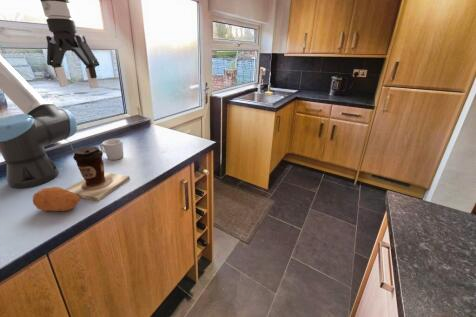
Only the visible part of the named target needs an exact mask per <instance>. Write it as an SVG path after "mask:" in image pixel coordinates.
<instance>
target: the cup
mask: <svg viewBox="0 0 476 317" xmlns="http://www.w3.org/2000/svg"><path fill="white" fill-rule="evenodd" d="M99 149H100V150H101V151H102V152H103V154H104V153H105V155H106V157H107V159H108V160H110V161H117V160H120V159H122V158H123V157H124V145H123V139H121V138H110V139H107V140H104V141H103V142H102V143H100V145H99Z"/></svg>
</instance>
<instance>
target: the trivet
mask: <svg viewBox="0 0 476 317" xmlns="http://www.w3.org/2000/svg"><path fill="white" fill-rule="evenodd" d="M104 177H105V179H106V182H105V183H104V184H102V185H99V186H94V187H89V186H87V185H86V181H85V179H84V178H82V179H81V180H79V181H77V182H75V183H74V184H72V185H71V186H68V187H67V188H65V190H67V191H70V192H73V193H75V194H77V195H78V196H79V198H82V199H87V200H93V201H97V202H99V201H101V200H102V199H104V198H105V197H107V196H108V195H110V194H111V193H112V192H114V191H115V190H116V189H118V188H119V187H121V186H122V185H123V184H125V183H126V182H128V181H129V180H131V178H130V177H131V176H129V175H124V174H119V173H111V172H107V171H106V172H105V171H104Z"/></svg>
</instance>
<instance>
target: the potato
mask: <svg viewBox="0 0 476 317" xmlns="http://www.w3.org/2000/svg"><path fill="white" fill-rule="evenodd" d="M65 189H66V188H65ZM65 189H64V188H62V187H60V186H59V187H58V186H50V187H44V188H41V189H40V190H38V191H37V192H35V193H34V194H33V197H32V203H33V205H34V206H35V208H36V209H37V210H41V211H45V212H65V211H70V210H72V209H74V208H76V207H77V205H78V204H79V202H80V200H81V199H80V198H81V197H79V196H78V195H77V194H75V193H73V192H70V191H67V190H65Z"/></svg>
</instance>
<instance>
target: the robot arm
mask: <svg viewBox="0 0 476 317" xmlns="http://www.w3.org/2000/svg"><path fill="white" fill-rule="evenodd" d="M39 1H40V2H41V5H42V9H43V14H44V16H45V17H46V20H45V21H46V24H47V27H48V31H49V32H51V33H52V34H53V35H46V36H45V38H46V42H47V48H46V49H47V50H46V52H47V55H46V64H47V65H48V66H51V67H52V68H53V70H54V73H55V75H56V78H57V80H58V84H59V86H60V88H64V87H69V82H68V79H67V76H66V71H65V69H64V67H63V65H62V64H63V61H64V57H65V55H66V53H67V52H72V53H74V54H75V55H76V56H77V57H78V59H79V60H80V61H81V62H82V63H83V65H84V66H85V74H86V76H87V81H88V84H89V88H90V89H92V90H93V89H97V88H99V85H98V81H97V78H98V76H97V72H96V67H99V66H100V62H99V61H98V59H97V58H96V56H95V54H94V52H93V51H92V50H91V48H90V46H89V45H88V43H87V39H86V37H85V36H84V35H78V34H77V35H76V33H78V30H77V27H76V22H75V20H73V19H74V14H73V10H72V7H71V4H70V0H39ZM2 48H3V47H2V43H1V42H0V91H1V92H2V93H3V94H4V95H5V96H6V97H7V98H9V100H10V101H11V102H12V103H13V104H15V106H17V108H18V109H19V110H21V111H22V112H23V114H17V115H13V116H12V115H11V116H7V117H4V118H0V153H1V155H2V157H3V160H4V162H5V165H6V181H7V184H8V186H9V187H11V188H13V189H26V188H31V187H32V188H33V187H36V186H41V185H42V184H45V183H47V182H50V181H52V180H53V179H55V178H56V177H57V176H59V173H60V171H59V169H58V166H57V165H56V164H55V163H54V162H53V161H52V160H51V159H50V157H49V156H48V154H47V152H46V149H45V147H47V146H50V145H52V144H55V143H59V142H61V141H64V140H67V139H69V138H71V137H73V136H74V135H75V134H76V133H77V130H78V125H77V124H78V123H77V119H76V118H75V116H74V115H73V113H72V112H70V111H69V110H67V109H65V108H60V109H59V108H58V107H57V105H55V104H54V103H53V102H47V101H46V100H45V99H44V98H43V97H42V96H41V95H40V94H39V92H37V91H36V90H35V89H34V87H33V86H31V84H29V82H27V81H26V79H24V77H23V76H21V74H20V73H19V72H18V71H17V70H16V69H15V68H14V67H13V66H12V65H11V64H10V63H9V62H8V61H7V60H6V59H5V58H4V57H3V51H2Z"/></svg>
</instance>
